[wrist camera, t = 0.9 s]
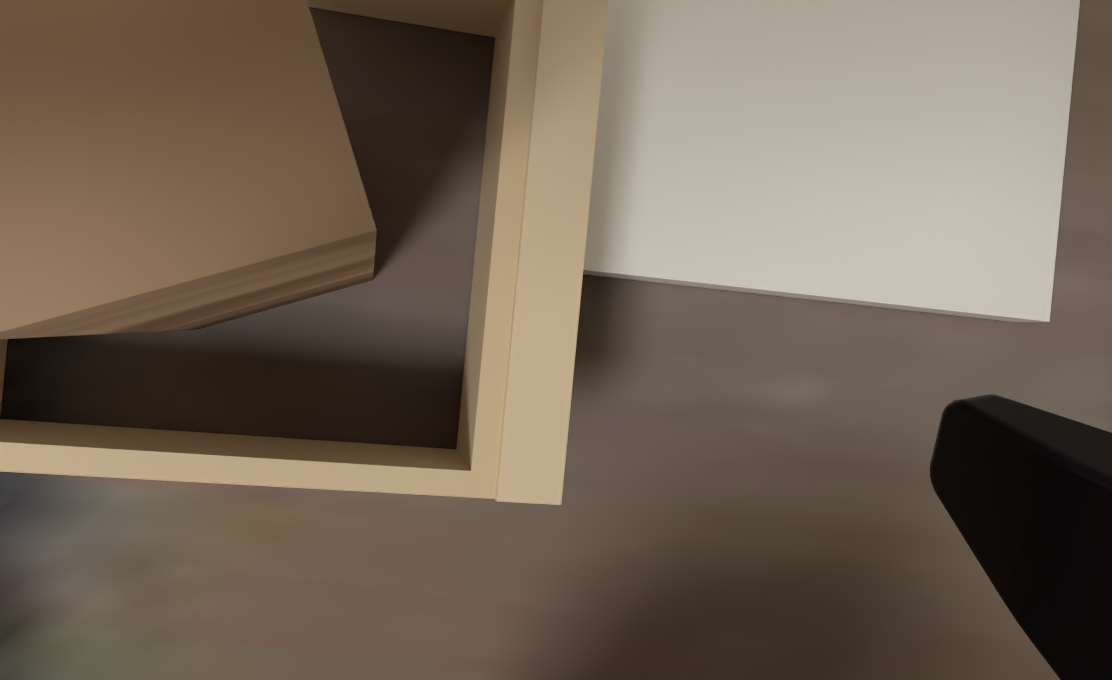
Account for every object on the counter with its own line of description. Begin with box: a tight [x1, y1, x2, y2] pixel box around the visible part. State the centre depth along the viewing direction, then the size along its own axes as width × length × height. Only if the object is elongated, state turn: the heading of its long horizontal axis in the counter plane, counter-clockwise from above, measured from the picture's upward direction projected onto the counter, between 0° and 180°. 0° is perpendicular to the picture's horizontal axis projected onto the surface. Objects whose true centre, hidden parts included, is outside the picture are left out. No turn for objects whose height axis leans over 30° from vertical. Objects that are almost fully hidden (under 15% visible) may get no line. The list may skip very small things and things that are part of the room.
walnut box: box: [0, 0, 377, 339], centre depth 16 cm, size 4×4×13 cm
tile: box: [583, 0, 1080, 322], centre depth 25 cm, size 10×14×2 cm
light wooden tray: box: [0, 0, 609, 505], centre depth 21 cm, size 12×15×4 cm
